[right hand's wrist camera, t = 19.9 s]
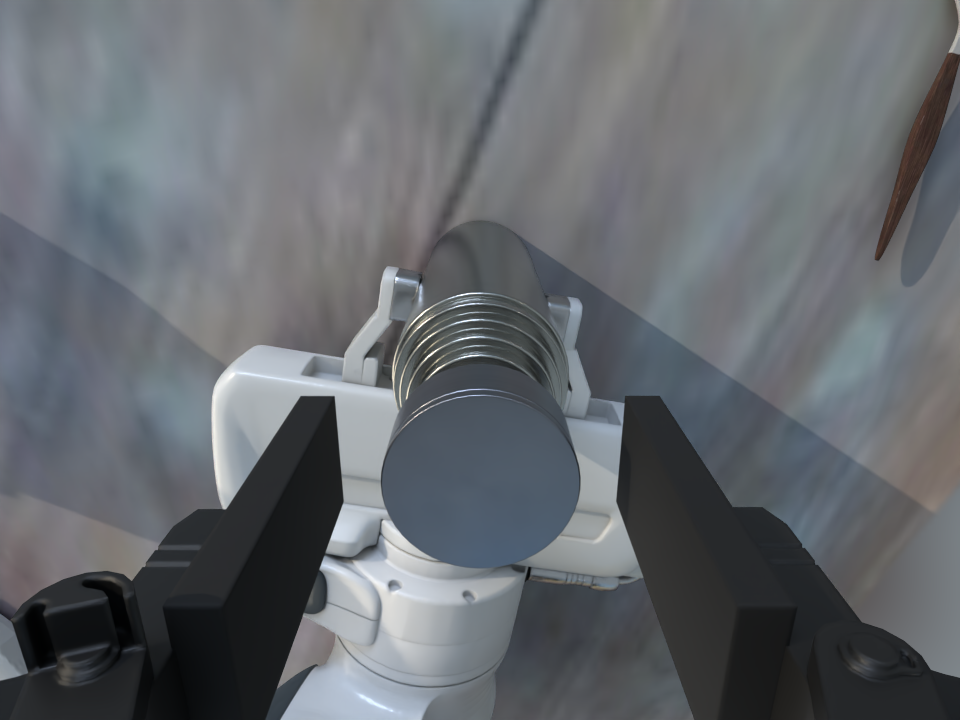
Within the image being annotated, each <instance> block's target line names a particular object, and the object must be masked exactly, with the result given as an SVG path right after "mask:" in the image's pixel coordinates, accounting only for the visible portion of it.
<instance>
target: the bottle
mask: <svg viewBox="0 0 960 720" xmlns="http://www.w3.org/2000/svg"><path fill="white" fill-rule="evenodd" d="M470 364H490V365H498V366H503V367H507V368H510V369H513V370H516V371H519V372H521V373H523V374H525V375H527V376H529V377H531V378H532V379H534V380H535V381H537V382H538V383H539V384H541V385H542V386H543V387H544V388H545V389H546V390H547V391H548V392H549V393H550V394H551V395H552V396H553V398H554V399H555V400H556V402H557V403H558V405H559V406H560V408H561V410H562V412H563V409H564V406H565V402H566V399H567V392H568V383H569V365H568V358H567V354H566V351H565V348H564V345H563V342H562V340H561V337H560V334H559V332H558V329H557V326H556V324H555V321H554V318H553V316H552V313H551V310H550V308H549V305H548V302H547V300H546V297H545V294H544V292H543V289H542V286H541V284H540V281H539V279H538V276H537V273H536V271H535V268H534V265H533V263H532V260H531V257H530V255H529V252H528V250H527V248H526V246H525V245H524V243H523V242H522V241H521V239H520V238H519V237H518V236H517V235H516V234H515V233H514V232H512V231H511V230H509V229H508V228H506V227H504V226H502V225H500V224H497V223H494V222H489V221H472V222H467V223H464V224H461V225H459V226H457V227H455V228H453V229H451V230H450V231H448V232H447V233H446V234H445V235H444V236H443V237H442V238H441V239H440V240H439V241H438V243H437V244H436V246H435V247H434V249H433V252H432V254H431V256H430V259H429V262H428V264H427V267H426V270H425V272H424V275H423V278H422V280H421V283H420V286H419V289H418V291H417V294H416V297H415V299H414V302H413V305H412V307H411V310H410V313H409V315H408V318H407V321H406V323H405V326H404V329H403V332H402V334H401V337H400V340H399V342H398V345H397V348H396V351H395V354H394V359H393V365H392V383H393V391H394V398H395V402H396V406H397V409H398V411H399V410H400V409H401V407H402V405H403V403H404V402H405V401H406V399H407V398H408V397H409V395H410V394H411V393H412V392H413V391H414V390H415V389H416V388H417V387H418V386H420V385H421V384H422V383H423V382H425V381H426V380H428V379H429V378H431V377H433V376H434V375H436V374H438V373H441V372H443V371H445V370H448V369H451V368H455V367H458V366H463V365H470Z"/></svg>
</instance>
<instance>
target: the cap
mask: <svg viewBox="0 0 960 720" xmlns="http://www.w3.org/2000/svg"><path fill="white" fill-rule="evenodd" d="M580 485H581V476H580V468H579V463H578V460H577V456H576V453H575V449H574V446H573V442H572V439H571V436H570V432H569V429H568V425H567V422H566V419H565V416H564V414H563V412H562V410H561V408H560V406H559V405H558V403H557V402H556V400H555V399H554V398H553V396H552V395H551V394H550V393H549V392H548V391H547V390H546V389H545V388H544V387H543V386H542V385H541V384H539V383H538V382H537V381H535V380H534V379H532V378H531V377H529V376H527V375H525V374H523V373H521V372H519V371H516V370H513V369H510V368H507V367H503V366H498V365H490V364H470V365H463V366H458V367H455V368H451V369H448V370H445V371H443V372H441V373H438V374H436V375H434V376H433V377H431V378H429V379H428V380H426V381H425V382H423V383H422V384H421V385H420V386H418V387H417V388H416V389H415V390H414V391H413V392H412V393H411V394H410V395H409V397H408V398H407V399H406V401H405V402H404V403H403V405H402V407H401V409H400V410H399V412H398V414H397V417H396V420H395V423H394V426H393V429H392V433H391V436H390V440H389V443H388V447H387V450H386V454H385V457H384V461H383V466H382V470H381V492H382V497H383V501H384V505H385V508H386V510H387V513H388V515H389V517H390V519H391V520H392V522H393V524H394V525H395V527H396V528H397V529H398V531H399V532H400V533H401V535H402V536H403V537H404V538H405V539H406V540H407V541H408V542H409V543H410V544H412V545H413V546H414V547H416V548H417V549H418V550H420V551H421V552H423V553H425V554H426V555H428V556H430V557H432V558H434V559H437V560H439V561H441V562H444V563H447V564H451V565H454V566H460V567H465V568H476V569H481V568H496V567H503V566H507V565H511V564H514V563H517V562H520V561H523V560H525V559H527V558H529V557H531V556H533V555H535V554H537V553H538V552H540V551H541V550H543V549H544V548H546V547H547V546H548V545H549V544H551V543H552V542H553V541H554V540H555V539H556V538H557V537H558V536H559V535H560V534H561V533H562V532H563V530H564V529H565V527H566V526H567V524H568V523H569V521H570V519H571V517H572V515H573V513H574V511H575V509H576V506H577V503H578V500H579V494H580Z"/></svg>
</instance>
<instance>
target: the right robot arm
mask: <svg viewBox="0 0 960 720" xmlns="http://www.w3.org/2000/svg"><path fill="white" fill-rule="evenodd" d="M343 503H344V497H343V485H342V474H341V462H340V451H339V439H338V428H337V416H336V405H335V396H300V398H299V399H298V401H297V402H296V404H295V405H294V407H293V408H292V410H291V411H290V413H289V414H288V416H287V417H286V419H285V420H284V422H283V424H282V425H281V427H280V428H279V430H278V431H277V433H276V434H275V436H274V437H273V439H272V440H271V442H270V443H269V445H268V446H267V448H266V449H265V451H264V452H263V454H262V455H261V457H260V458H259V460H258V462H257V463H256V465H255V466H254V468H253V469H252V471H251V472H250V474H249V475H248V477H247V478H246V480H245V481H244V483H243V484H242V486H241V487H240V489H239V490H238V492H237V493H236V495H235V497H234V498H233V500H232V501H231V503H230V504H229V506H228V507H227V509H198V510H196V511H195V512H193V513H192V514H191V515H189V516H188V517H186V518H185V519H183V520H182V521H181V522H179V523H178V524H176V525H175V526H174V527H173V528H172V529H171V530H170V532H169V533H168V534H167V536H166V537H165V538H164V540H163V541H162V542H161V544H160V545H159V546H158V547H159V548H158V550H155V552H154V553H153V554H152V555H151V557H150V558H149V559H148V561H147V562H146V566H145V567H142V569H141V570H140V571H139V573H138V574H137V575H136V577H135V578H134V579H133V580H132V581H131V580H130V579H128V578H127V577H126V576H125V575H124V574H119V573H114V572H109V571H102V572H90V573H84V574H80V575H77V576H73V577H70V578H66V579H63V580H61V581H59V582H57V583H55V584H53V585H51V586H49V587H47V588H45V589H43V590H41V591H39V592H38V593H37V594H35V595H34V596H33V597H31V598H30V599H29V600H27V601H26V602H25V603H23V604H22V606H21V607H20V608H19V609H18V611H17V612H16V613H15V615H14V616H13V617H12V619H11V621H12V624H13V628H14V631H15V634H16V637H17V640H18V643H19V646H20V649H21V652H22V655H23V658H24V661H25V665H26V668H27V671H28V673H27V674H24V675H20V676H17V677H13V678H9V679H5V680H1V681H0V720H265V719H266V717H267V714H268V711H269V708H270V706H271V703H272V700H273V697H274V694H275V692H276V689H277V686H278V683H279V681H280V678H281V675H282V672H283V669H284V667H285V664H286V661H287V658H288V656H289V653H290V650H291V647H292V644H293V642H294V639H295V636H296V633H297V631H298V628H299V625H300V622H301V619H302V617H303V614H304V611H305V608H306V606H307V603H308V600H309V597H310V594H311V592H312V589H313V586H314V583H315V580H316V578H317V575H318V572H319V569H320V567H321V564H322V561H323V558H324V555H325V553H326V550H327V547H328V544H329V542H330V539H331V536H332V533H333V530H334V528H335V525H336V522H337V519H338V517H339V514H340V511H341V508H342V505H343ZM616 503H617V505H618V508H619V511H620V514H621V517H622V519H623V522H624V525H625V528H626V530H627V533H628V536H629V539H630V542H631V544H632V547H633V550H634V553H635V555H636V558H637V561H638V564H639V567H640V569H641V572H642V575H643V578H644V580H645V583H646V586H647V589H648V592H649V594H650V597H651V600H652V603H653V606H654V608H655V611H656V614H657V617H658V619H659V622H660V625H661V628H662V631H663V633H664V636H665V639H666V642H667V644H668V647H669V650H670V653H671V656H672V658H673V661H674V664H675V667H676V669H677V672H678V675H679V678H680V681H681V683H682V686H683V689H684V692H685V694H686V697H687V700H688V703H689V706H690V708H691V711H692V714H693V717H694V719H695V720H960V678H958V677H954V676H950V675H945V674H942V673H939V672H936V671H932V670H931V669H930V668H929V666H928V665H927V663H926V662H925V660H924V659H923V657H922V656H921V655H920V654H919V653H918V652H917V651H915V650H914V649H913V648H912V647H911V646H910V645H908V644H907V643H906V642H905V641H903V640H902V639H900V638H898V637H896V636H894V635H893V634H891V633H889V632H887V631H885V630H883V629H881V628H878V627H875V626H872V625H868V624H865V623H862V622H861V621H860V619H859V618H858V617H857V615H856V614H855V613H854V612H853V610H852V609H851V608H850V606H849V605H848V604H847V602H846V601H845V600H844V598H843V597H842V596H841V595H840V593H839V592H838V591H837V589H836V588H835V587H834V585H833V584H832V583H831V581H830V580H829V579H828V578H827V576H826V575H825V574H824V572H823V571H822V570H821V568H820V567H819V566H818V565H815V561H814V559H813V558H812V557H811V555H810V554H809V553H808V551H807V550H806V549H805V548H802V544H801V542H800V541H799V540H798V538H797V537H796V536H795V534H794V533H793V532H792V530H791V529H790V528H789V527H788V525H787V524H786V523H784V522H783V521H781V520H780V519H778V518H777V517H775V516H774V515H773V514H771V513H770V512H768V511H767V510H765V509H764V508H763V507H732V506H731V504H730V503H729V501H728V500H727V498H726V497H725V495H724V493H723V492H722V490H721V489H720V487H719V486H718V484H717V483H716V481H715V480H714V478H713V477H712V475H711V474H710V472H709V471H708V469H707V468H706V466H705V465H704V463H703V462H702V460H701V458H700V457H699V455H698V454H697V452H696V451H695V449H694V448H693V446H692V445H691V443H690V442H689V440H688V439H687V437H686V436H685V434H684V433H683V431H682V430H681V428H680V427H679V425H678V424H677V422H676V420H675V419H674V417H673V416H672V414H671V413H670V411H669V410H668V408H667V407H666V405H665V404H664V402H663V401H662V399H661V398H660V396H625V405H624V416H623V428H622V439H621V451H620V462H619V474H618V485H617V497H616Z"/></svg>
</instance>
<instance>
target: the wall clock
mask: <svg viewBox="0 0 960 720" xmlns="http://www.w3.org/2000/svg"><path fill="white" fill-rule="evenodd" d="M27 673H28V671H27V668H26V665H25V661H24V658H23V655H22V652H21V649H20V646H19V643H18V640H17V637H16V634H15V631H14V628H13V624H12V622H11V621H9V620H8V619H7V618H5V617H4V616H3V615H1V614H0V681H1V680H5V679H9V678H13V677H17V676H20V675H24V674H27Z"/></svg>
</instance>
